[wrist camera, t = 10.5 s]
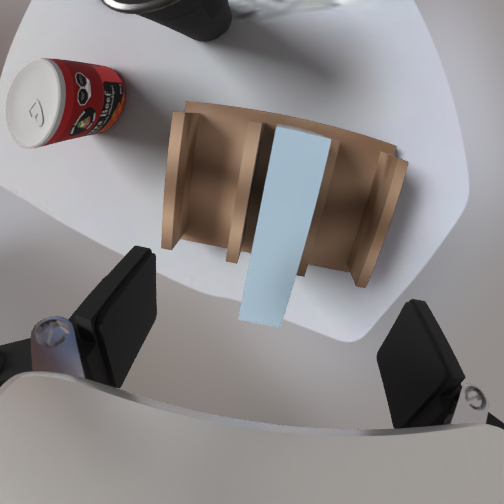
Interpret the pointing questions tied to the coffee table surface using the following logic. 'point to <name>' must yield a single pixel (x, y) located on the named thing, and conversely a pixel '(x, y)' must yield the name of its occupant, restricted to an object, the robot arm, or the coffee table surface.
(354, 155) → the dish rack
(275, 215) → the light blue square slab
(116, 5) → the drinking cup
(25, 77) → the canned food
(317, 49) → the coffee table surface
